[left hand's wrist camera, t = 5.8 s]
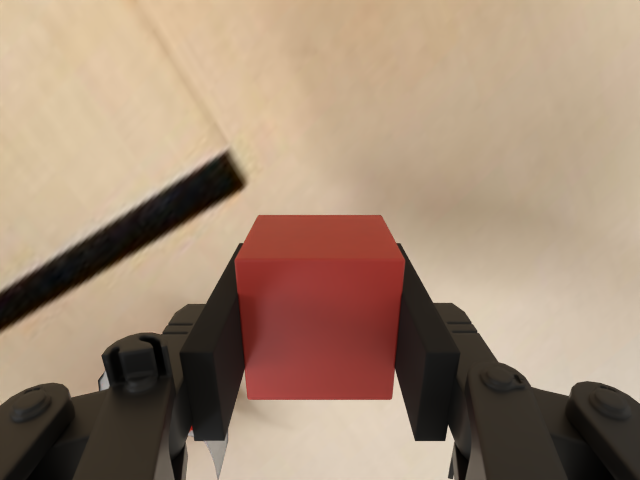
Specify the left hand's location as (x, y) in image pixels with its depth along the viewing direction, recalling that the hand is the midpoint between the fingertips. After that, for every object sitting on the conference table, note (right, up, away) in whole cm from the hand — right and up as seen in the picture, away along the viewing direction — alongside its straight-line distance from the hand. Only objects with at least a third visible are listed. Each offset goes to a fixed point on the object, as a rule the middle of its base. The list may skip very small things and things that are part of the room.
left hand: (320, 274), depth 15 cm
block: (0, 0, 0) cm, 0 cm away
